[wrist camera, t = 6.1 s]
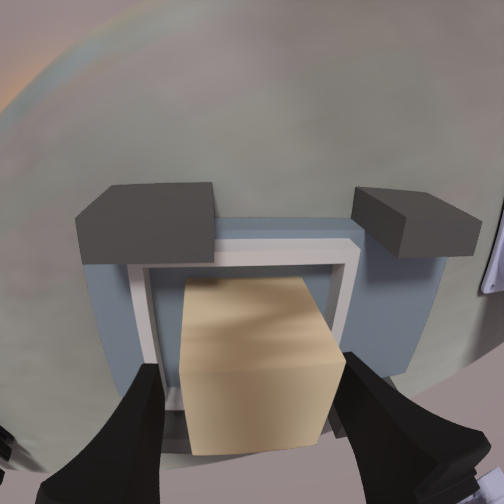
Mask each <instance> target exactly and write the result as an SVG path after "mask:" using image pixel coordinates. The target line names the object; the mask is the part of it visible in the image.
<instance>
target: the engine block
mask: <svg viewBox="0 0 504 504" xmlns="http://www.w3.org/2000/svg"><path fill="white" fill-rule="evenodd" d="M345 364H346V360H345V358H344V356H343V354H342V352H341V350H340V348H339V346H338V344H337V343H336V341H335V339H334V337H333V335H332V333H331V331H330V329H329V327H328V326H327V324H326V322H325V320H324V318H323V316H322V314H321V312H320V310H319V309H318V307H317V305H316V303H315V301H314V299H313V297H312V296H311V294H310V292H309V290H308V288H307V286H306V285H305V283H304V281H303V279H302V277H301V276H293V277H249V278H186V282H185V293H184V305H183V318H182V331H181V346H180V363H179V376H180V383H181V390H182V397H183V403H184V410H185V416H186V422H187V427H188V433H189V439H190V444H191V449H192V455H227V454H244V453H256V452H267V451H275V450H284V449H291V448H298V447H305V446H312V445H316V444H317V441H318V439H319V436H320V434H321V431H322V429H323V426H324V424H325V421H326V418H327V416H328V413H329V410H330V408H331V405H332V402H333V399H334V397H335V394H336V391H337V388H338V385H339V382H340V379H341V376H342V373H343V370H344V367H345Z"/></svg>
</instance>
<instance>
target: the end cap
mask: <svg viewBox="0 0 504 504" xmlns="http://www.w3.org/2000/svg"><path fill="white" fill-rule="evenodd" d="M13 441H14V437H13V436H12V435H11V434H10V433H9V432H8V431H6V430H5V429H4V428H3V427H2V426H0V457H1V458H2V459H4V460H5V461H6V462H8V461H9V458H10V455H11V452H12V449H11V448H10V447H9V446H8V445H6V444H10V443H13ZM4 474H5V472H4V471H3V470H2V469H0V485H1V484H2V481H3V478H4Z"/></svg>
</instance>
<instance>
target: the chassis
mask: <svg viewBox="0 0 504 504" xmlns="http://www.w3.org/2000/svg"><path fill="white" fill-rule="evenodd" d="M75 222H76V229H77V236H78V242H79V248H80V253H81V259H82V264H83V266H84V271H85V276H86V281H87V286H88V290H89V295H90V299H91V303H92V307H93V311H94V315H95V319H96V323H97V327H98V330H99V334H100V338H101V341H102V344H103V348H104V351H105V355H106V358H107V361H108V364H109V367H110V370H111V373H112V376H113V379H114V382H115V385H116V388H117V391H118V394H119V396H122V397H124V396H125V394H126V392H127V391H128V389H129V387H130V385H131V384H132V382H133V380H134V378H135V376H136V374H137V372H138V370H139V368H140V366H141V365H142V364H143V363H158V364H159V369H160V374H161V379H162V384H163V389H164V393H165V423H164V431H163V440H162V448H161V453H177V454H192V449H191V444H190V439H189V433H188V427H187V422H186V416H185V410H184V403H183V397H182V390H181V383H180V376H179V363H180V346H181V331H182V318H183V305H184V293H185V282H186V278H249V277H293V276H301V277H302V279H303V281H304V283H305V285H306V286H307V288H308V290H309V292H310V294H311V296H312V297H313V299H314V301H315V303H316V305H317V307H318V309H319V310H320V312H321V314H322V316H323V318H324V320H325V322H326V324H327V326H328V327H329V329H330V331H331V333H332V335H333V337H334V339H335V341H336V343H337V344H338V346H339V348H340V350H341V352H342V353H343V352H350V351H352V352H353V353H354V354H355V355H356V356H357V357H358V358H360V359H361V360H362V361H363V362H364V363H365V364H366V365H367V366H368V367H370V368H371V369H372V370H373V371H374V372H375V373H376V374H377V375H379V376H380V377H381V378H382V379H383V380H384V381H386V382H387V383H388V384H389V385H391V386H392V387H393V388H394V389H396V390H397V388H396V387H395V385H394V383H393V382H392V380H391V378H390V377H389V376H393V375H397V374H402V373H405V371H406V369H407V367H408V365H409V363H410V360H411V358H412V356H413V353H414V351H415V349H416V346H417V344H418V341H419V339H420V336H421V334H422V331H423V329H424V326H425V324H426V321H427V318H428V316H429V313H430V310H431V307H432V304H433V302H434V299H435V296H436V293H437V290H438V287H439V284H440V280H441V277H442V274H443V271H444V267H445V264H446V260H447V257H454V256H473V255H474V251H475V248H476V244H477V241H478V237H479V233H480V229H481V225H482V221H480V220H479V219H477V218H475V217H473V216H471V215H469V214H468V213H466V212H464V211H462V210H460V209H458V208H456V207H454V206H452V205H450V204H448V203H446V202H444V201H443V200H441V199H438V198H436V197H434V196H432V195H430V194H428V193H424V192H414V191H404V190H393V189H381V188H367V187H356V188H355V196H354V203H353V210H352V217H351V219H333V218H214V205H213V192H212V182H201V183H157V184H132V185H113V186H111V187H110V188H108V189H107V190H106V191H105V192H104V193H103V194H101V195H100V196H99V197H98V198H97V199H96V200H94V201H93V202H92V203H91V204H90V205H89V206H88V207H87V208H86V209H84V210H83V211H82V212H81V213H80V214H79V215H78V216H77V217H76V218H75ZM397 391H398V390H397ZM328 419H329V422H330V424H331V427H332V430H333V432H334V435H335V437H336V438H342V437H346V436H347V435H346V433H345V430H344V428H343V426H342V423H341V421H340V419H339V416H338V414H337V412H336V409H335V407H334V404H333V402H332V405H331V408H330V410H329V413H328Z"/></svg>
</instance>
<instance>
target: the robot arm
mask: <svg viewBox="0 0 504 504" xmlns="http://www.w3.org/2000/svg"><path fill="white" fill-rule="evenodd" d="M481 291H482V292H483V293H484V294H487V293H493V292H499V291H504V211H503V215H502V219H501V223H500V227H499V231H498V235H497V238H496V242H495V246H494V249H493V252H492V256H491V259H490V262H489V265H488V268H487V271H486V274H485V277H484V280H483V283H482V286H481ZM342 354H343V356H344V358H345V360H346V364H345V367H344V370H343V373H342V376H341V379H340V382H339V385H338V388H337V391H336V394H335V397H334V399H333V404H334V407H335V409H336V412H337V414H338V416H339V419H340V421H341V423H342V426H343V428H344V430H345V433H346V435H347V437H348V439H349V442H350V444H351V446H352V449H353V452H354V454H355V458H356V461H357V465H358V468H359V472H360V476H361V480H362V484H363V489H364V493H365V498H366V504H504V475H503V473H502V471H501V470H500V468H499V467H496V468H494V469H493V470H491V471H489V472H488V473H486V474H485V475H483V476H482V477H480V478H479V479H478V480H476V479H475V477H474V476H475V475H476V474H477V472H476V470H475V468H474V467H475V466H476V465H477V464H478V463H479V462H480V461H481V460H482V459H483V458H484V457H485V456H486V455H487V454H488V453H489V451H490V449H491V444H490V443H489V441H488V440H487V438H486V437H485V435H484V433H483V432H482V431H478V430H474V429H471V428H467V427H464V426H461V425H458V424H456V423H453V422H450V421H448V420H446V419H443V418H441V417H439V416H437V415H435V414H433V413H431V412H429V411H427V410H426V409H424V408H422V407H420V406H419V405H417V404H416V403H414V402H412V401H411V400H409V399H408V398H406V397H405V396H404V395H402V394H401V393H400V392H398V391H397V390H396V389H394V388H393V387H392V386H391V385H389V384H388V383H387V382H386V381H384V380H383V379H382V378H381V377H380V376H379V375H377V374H376V373H375V372H374V371H373V370H372V369H371V368H370V367H368V366H367V365H366V364H365V363H364V362H363V361H362V360H361V359H360V358H358V357H357V356H356V355H355V354H354V353H353V352H352V351H350V352H343V353H342ZM164 423H165V393H164V389H163V384H162V379H161V374H160V369H159V364H158V363H143V364H142V365H141V366H140V368H139V370H138V372H137V374H136V376H135V378H134V380H133V382H132V384H131V385H130V387H129V389H128V391H127V392H126V394H125V396H124V397H123V399H122V401H121V402H120V404H119V405H118V407H117V408H116V410H115V411H114V413H113V414H112V415H111V417H110V418H109V420H108V421H107V422H106V424H105V425H104V426H103V428H102V429H101V430H100V431H99V433H98V434H97V435H96V436H95V437H94V438H93V439H92V441H91V442H90V443H89V444H88V445H87V446H86V447H85V448H84V449H83V450H82V451H81V452H80V453H79V454H78V455H77V456H76V457H75V458H73V459H72V460H71V461H70V462H69V463H68V464H67V465H65V466H64V467H63V468H62V469H60V470H59V471H58V472H56V473H55V474H54V475H52V476H51V477H49V478H48V479H46V480H45V481H43V482H42V483H41V485H40V488H39V490H38V493H37V497H36V502H35V504H160V492H159V467H160V457H161V448H162V440H163V431H164Z"/></svg>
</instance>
